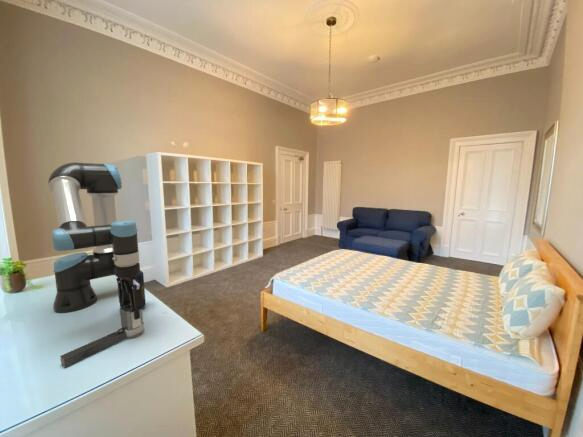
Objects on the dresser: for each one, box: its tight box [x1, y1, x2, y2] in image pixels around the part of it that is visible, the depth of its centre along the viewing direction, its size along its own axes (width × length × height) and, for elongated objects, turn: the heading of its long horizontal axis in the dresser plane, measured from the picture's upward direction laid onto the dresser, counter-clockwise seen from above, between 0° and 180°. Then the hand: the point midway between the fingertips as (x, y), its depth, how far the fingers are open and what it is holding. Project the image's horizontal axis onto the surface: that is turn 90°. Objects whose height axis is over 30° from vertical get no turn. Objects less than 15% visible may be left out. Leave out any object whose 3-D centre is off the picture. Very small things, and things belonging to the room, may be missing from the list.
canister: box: [117, 270, 146, 309], centre depth 108 cm, size 10×10×18 cm
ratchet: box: [60, 321, 145, 369], centre depth 84 cm, size 7×24×7 cm, turn 148°
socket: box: [119, 304, 144, 330], centre depth 91 cm, size 5×5×7 cm
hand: (132, 324), depth 91 cm, fingers closed on socket, 5 cm apart
